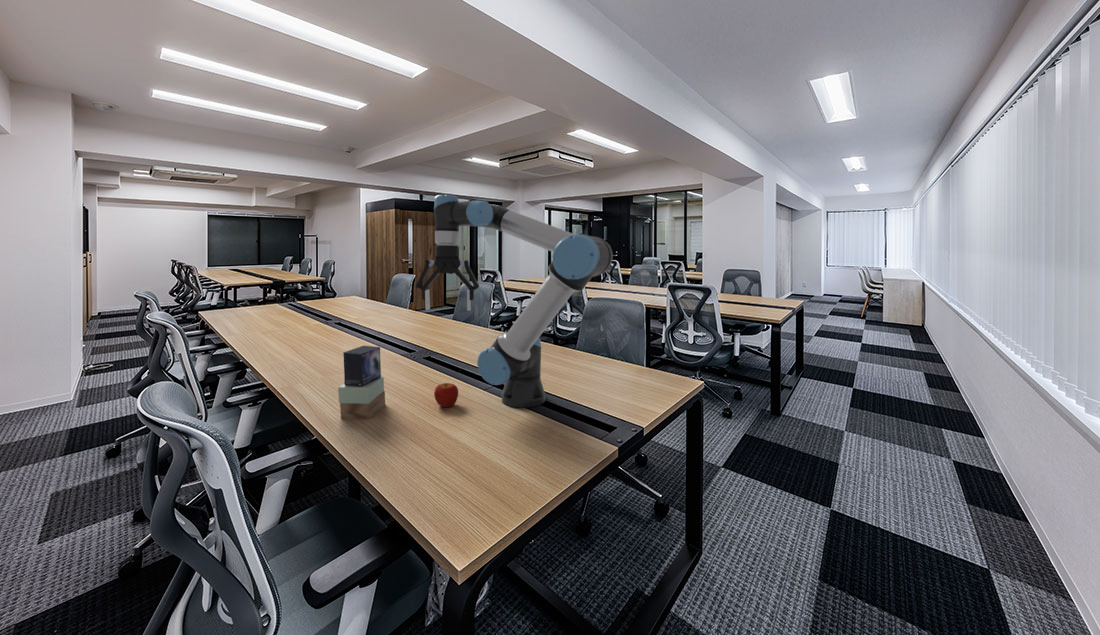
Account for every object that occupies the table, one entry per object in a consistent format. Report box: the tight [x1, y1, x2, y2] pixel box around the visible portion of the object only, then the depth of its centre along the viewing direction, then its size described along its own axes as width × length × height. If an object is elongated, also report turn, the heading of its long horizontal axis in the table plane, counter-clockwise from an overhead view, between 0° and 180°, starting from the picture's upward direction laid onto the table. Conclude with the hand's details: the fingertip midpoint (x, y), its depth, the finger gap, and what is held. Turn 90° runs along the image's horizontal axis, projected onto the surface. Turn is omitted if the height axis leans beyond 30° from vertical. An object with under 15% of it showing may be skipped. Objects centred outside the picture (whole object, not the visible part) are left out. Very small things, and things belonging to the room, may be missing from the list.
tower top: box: [337, 375, 385, 404], centre depth 135 cm, size 9×12×5 cm
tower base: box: [339, 390, 386, 420], centre depth 136 cm, size 9×12×5 cm
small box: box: [342, 345, 382, 387], centre depth 134 cm, size 11×6×10 cm, turn 170°
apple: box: [433, 382, 459, 408], centre depth 141 cm, size 8×8×8 cm
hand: (448, 309), depth 141 cm, fingers open, 13 cm apart
